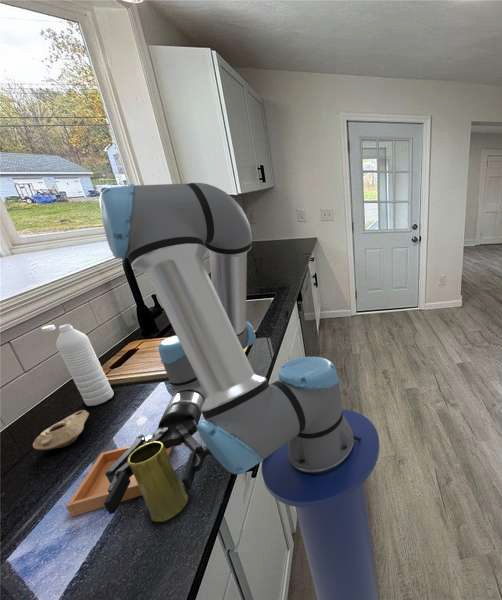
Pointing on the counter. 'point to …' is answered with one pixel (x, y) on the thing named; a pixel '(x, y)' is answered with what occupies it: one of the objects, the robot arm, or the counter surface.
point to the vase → (157, 481)
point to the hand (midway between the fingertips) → (149, 496)
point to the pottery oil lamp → (62, 432)
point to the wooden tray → (100, 484)
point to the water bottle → (82, 365)
